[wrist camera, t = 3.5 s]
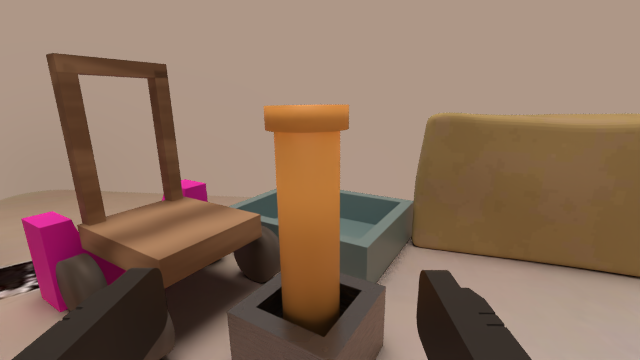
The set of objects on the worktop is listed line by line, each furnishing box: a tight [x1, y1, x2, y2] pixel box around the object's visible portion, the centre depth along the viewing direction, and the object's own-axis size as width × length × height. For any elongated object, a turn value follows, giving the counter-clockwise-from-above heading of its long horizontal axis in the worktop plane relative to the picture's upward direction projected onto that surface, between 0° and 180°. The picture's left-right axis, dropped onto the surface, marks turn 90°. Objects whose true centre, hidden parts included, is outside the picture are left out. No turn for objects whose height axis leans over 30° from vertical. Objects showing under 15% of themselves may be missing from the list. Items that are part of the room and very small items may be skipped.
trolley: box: [46, 53, 281, 360], centre depth 24 cm, size 13×12×20 cm
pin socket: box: [227, 272, 386, 360], centre depth 19 cm, size 7×7×4 cm
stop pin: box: [264, 105, 349, 337], centre depth 18 cm, size 4×4×15 cm
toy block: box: [22, 179, 208, 312], centre depth 32 cm, size 15×6×8 cm, turn 148°
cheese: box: [412, 113, 640, 277], centre depth 32 cm, size 22×10×15 cm, turn 79°
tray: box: [229, 189, 414, 283], centre depth 36 cm, size 18×14×4 cm
